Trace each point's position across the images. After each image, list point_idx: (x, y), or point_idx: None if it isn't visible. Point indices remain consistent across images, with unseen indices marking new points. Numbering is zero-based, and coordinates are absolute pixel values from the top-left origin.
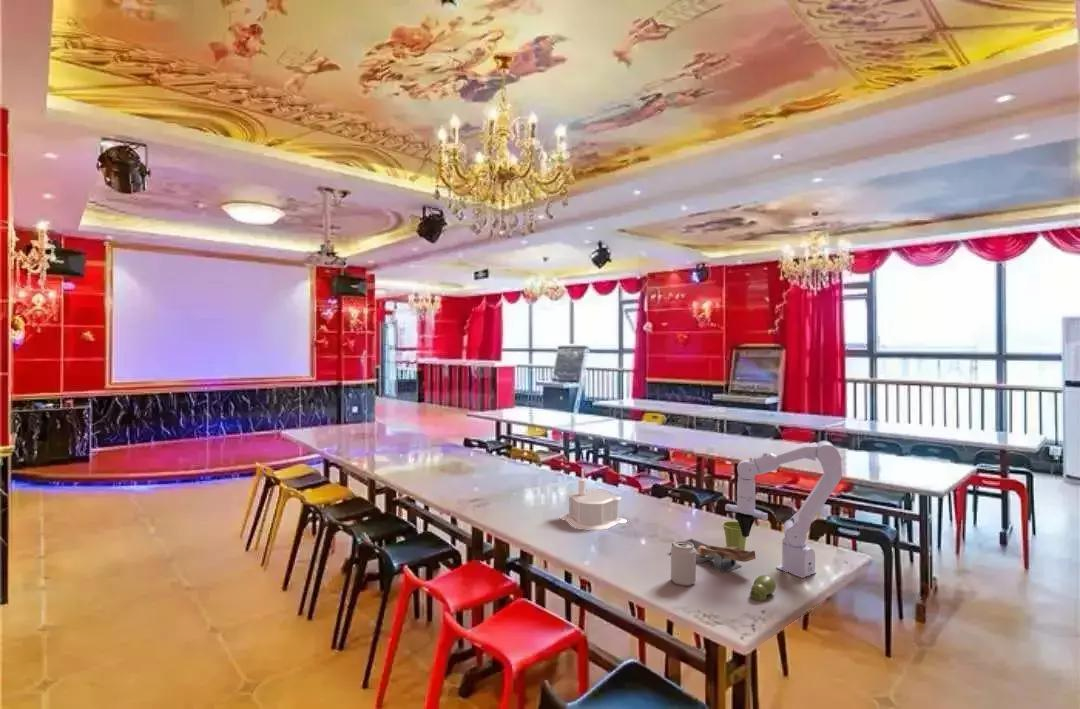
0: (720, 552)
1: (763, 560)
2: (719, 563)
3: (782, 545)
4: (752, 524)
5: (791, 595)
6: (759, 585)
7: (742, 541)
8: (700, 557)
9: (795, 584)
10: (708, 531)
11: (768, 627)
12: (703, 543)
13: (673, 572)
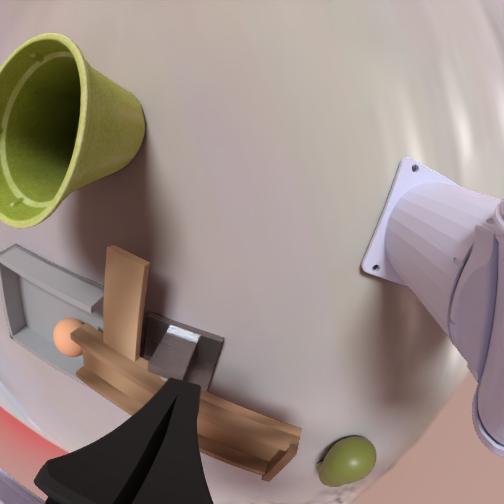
0: None
1: (278, 193)
2: None
3: (438, 314)
4: (202, 467)
5: (409, 417)
6: (339, 485)
7: (117, 149)
8: None
9: (428, 358)
10: (4, 56)
11: (360, 494)
12: (34, 283)
13: None
